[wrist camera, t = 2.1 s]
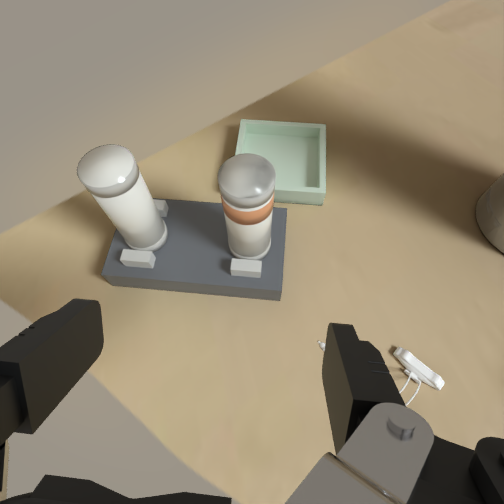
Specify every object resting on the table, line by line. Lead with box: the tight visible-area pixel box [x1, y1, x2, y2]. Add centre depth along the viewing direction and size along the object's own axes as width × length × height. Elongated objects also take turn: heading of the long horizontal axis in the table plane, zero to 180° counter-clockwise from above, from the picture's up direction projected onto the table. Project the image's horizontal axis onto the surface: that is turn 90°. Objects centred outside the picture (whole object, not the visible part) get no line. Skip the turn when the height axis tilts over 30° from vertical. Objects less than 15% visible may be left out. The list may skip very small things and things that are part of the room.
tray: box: [235, 119, 326, 205], centre depth 35 cm, size 9×9×2 cm
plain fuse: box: [77, 144, 168, 253], centre depth 25 cm, size 4×4×9 cm
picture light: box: [318, 341, 444, 406], centre depth 25 cm, size 14×4×2 cm, turn 47°
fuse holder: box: [101, 198, 287, 301], centre depth 29 cm, size 15×8×4 cm, turn 84°
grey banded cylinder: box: [218, 153, 276, 261], centre depth 24 cm, size 4×4×9 cm
